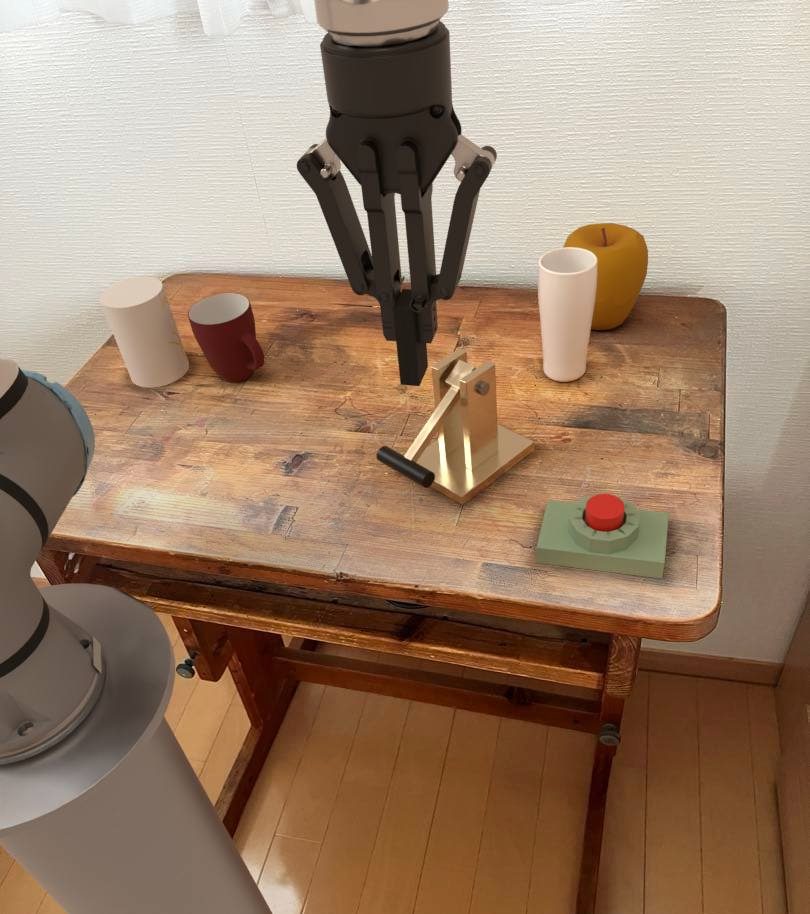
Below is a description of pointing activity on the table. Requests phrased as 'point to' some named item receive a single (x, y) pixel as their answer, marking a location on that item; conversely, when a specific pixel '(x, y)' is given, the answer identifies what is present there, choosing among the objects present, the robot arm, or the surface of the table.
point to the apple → (613, 269)
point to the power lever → (426, 433)
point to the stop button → (604, 512)
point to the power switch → (470, 434)
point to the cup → (145, 331)
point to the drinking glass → (566, 310)
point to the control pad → (603, 540)
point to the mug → (227, 335)
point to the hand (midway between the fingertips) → (414, 375)
